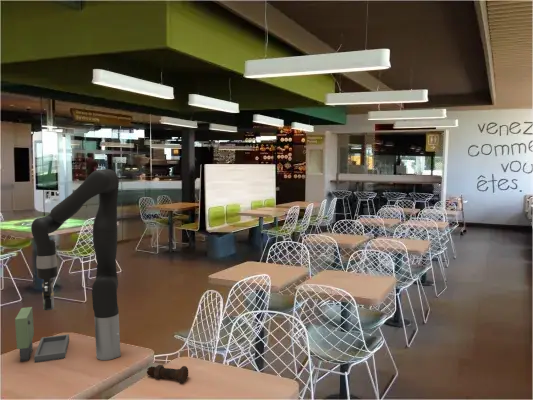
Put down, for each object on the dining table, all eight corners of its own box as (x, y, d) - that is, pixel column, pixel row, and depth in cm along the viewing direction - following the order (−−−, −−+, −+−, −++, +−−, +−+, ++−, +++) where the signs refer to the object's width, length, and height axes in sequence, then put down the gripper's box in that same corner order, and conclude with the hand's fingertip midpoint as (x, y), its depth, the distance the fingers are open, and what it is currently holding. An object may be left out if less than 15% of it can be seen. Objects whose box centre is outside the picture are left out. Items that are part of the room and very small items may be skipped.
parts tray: (69, 339, 203) (68, 334, 203) (65, 358, 184) (64, 352, 184) (41, 343, 200) (41, 337, 199) (34, 362, 181) (34, 356, 181)
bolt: (150, 379, 170) (186, 383, 166) (143, 378, 166) (180, 383, 161) (153, 363, 173) (189, 366, 168) (146, 361, 168) (183, 365, 164)
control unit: (36, 348, 194) (33, 306, 193) (31, 362, 181) (28, 317, 180) (23, 349, 193) (20, 308, 191) (17, 364, 180) (14, 319, 178)
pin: (54, 306, 191) (54, 290, 191) (53, 309, 187) (53, 292, 187) (43, 307, 190) (42, 291, 189) (42, 310, 186) (41, 294, 185)
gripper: (55, 268, 182) (57, 311, 183) (58, 261, 195) (60, 300, 197) (34, 270, 179) (36, 313, 181) (39, 262, 192) (41, 302, 194)
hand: (49, 306), depth 189 cm, fingers closed on pin, 4 cm apart
